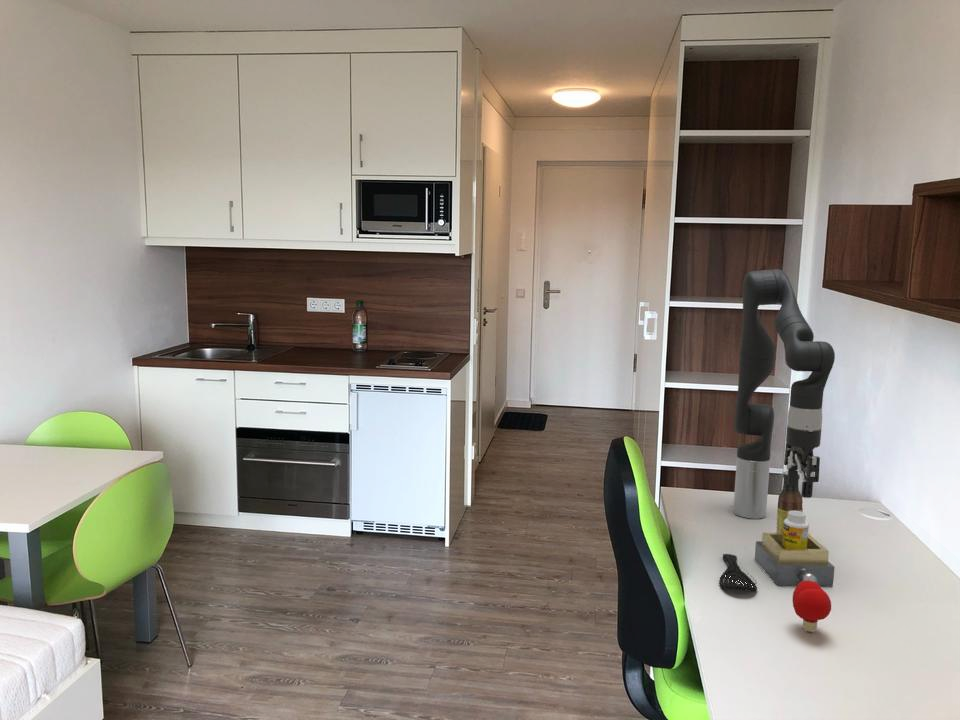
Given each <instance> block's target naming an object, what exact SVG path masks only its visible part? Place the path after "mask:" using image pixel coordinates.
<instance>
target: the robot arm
mask: <svg viewBox="0 0 960 720" xmlns="http://www.w3.org/2000/svg"><path fill="white" fill-rule="evenodd" d="M776 304H777V305H778V304H780V305H781V306H780V308H779V309H778V311H777V314H776V316H775V321H774V326H775V330H776V332H777V334H778V336H779V338H780V339H781V341H782V343H783V349H784V360H785V364H786V366H787V367H788V368H789V369H791V370H792V371H794V372H811V373H810V375H809V376H808V377H807V378H805V379H801V380H796V381H794V382H792V384H791V387H790V396H789V397H790V398H789V399H790V400H789V408H788V412H787V420H786V421H787V422H786V432H785V433H786V434H785V435H786V436H785V437H786V438H785V448H784V449H785V451H784V460H783V465H784V466H786V471H788V477H787V484H788V485H789V486H796V485H797V480H798V473H799V474H801V478H802V482H801V483H802V484H801V492H800V494H801V496H802V498H805V499H811V498H812V497H813V488H814V483H818V482H819V481H820V463H821V461H820V460H821V459H820V456H817V455H816V456H814V449H816V448H818V447H820V446H821V441H822V439H821V438H822V427H823V426H822V425H823V400H824V391H825V387H826V385H827V382H828V379H829V377H830V374H831V371H832V369H833V367H834V364H835V358H836V355H835V354H836V352H835V350H834V347H833V346H832V345H831V344H830V343H829V342H827V341H822V340H820V341H817V340H816V341H814V338H815V336H814V332H813V330H812V328H811V326H810V325H809V322H808V321H807V320H806V318H805V317H804V316H803V315H804V314H803V313H802V311H801V309H800V307H799V304H798V301H797V296H796V294H795V291H794V289H793V286H792V283H791V281H790V279H789V277H788V275H787V274H786V272H785V271H784V270H783V269H779V268H777V269H776V268H775V269H764V270H763V269H762V270H751V271H749V272H747V273H746V274H745V275H744V278H743V283H742V328H741V329H742V331H741V339H740V340H741V341H740V349H739V361H738V364H739V365H738V366H739V367H738V384H737V385H738V386H737V387H738V388H737V393H736V402H735V406H734V414H733V416H734V417H733V427H734V430H735V432H736V433H737V434H740V435H747V436H759V438H757V439H756V440H754V441H752V442H748V443H745V444H741V445H739V446H738V447H737V451H736V463H735V465H736V466H735V468H736V469H735V481H734V495H733V510H732V511H733V514H735V515H736V516H739V517H742V518H746V519H755V520H756V519H763V518H766V516H767V506H768V494H769V493H768V490H769V481H770V480H769V479H770V466H771V465H770V464H771V448H772V438H773V437H772V436H773V429H774V423H775V422H774V421H775V409H774V408H773V406H772V405H770V404H763V403H762V404H761V403H752V402H751V403H749V401H751V397H752V396H753V395H754V393H755V392H756V391H757V389H758V388H759V387H760V386H761V385H762V384H763V383H764V382H765V381H766V380H767V378H769V376H770V375H771V373H772V372H773V370H774V369H775V367H774V366H775V359H776V345H775V343H774V340H773V338H772V337H771V335H770V334H769V332H768V330H766V328H765V326H764V325H763V324H762V322H761V320H760V317H759V313H758V309H759V306H767V305H768V306H769V305H776Z"/></svg>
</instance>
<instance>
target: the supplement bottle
mask: <svg viewBox="0 0 960 720" xmlns="http://www.w3.org/2000/svg"><path fill="white" fill-rule="evenodd" d="M806 517H807V514H806V513H805V512H801V511H789V512H788V518H786V519H785V520H784V526H783V539H782V548H783V549H807V539H808V533H809V527H810V523H809V522H808V521H807V519H806Z"/></svg>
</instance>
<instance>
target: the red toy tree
mask: <svg viewBox="0 0 960 720" xmlns="http://www.w3.org/2000/svg"><path fill="white" fill-rule="evenodd" d="M792 607H793V609H794V612H795V614H796V615H797V616H798V618H800V619H802V628H803V629H804V630H805V631H806V633H809V634H811V633H813V632H816V631H817V629H818V622H819V621H822V620H824V619H826V618H828V616H829V615H830V613H831V611H832V600H831V599H830V596H829V594H828V593H827V592H826V591H824V589H823V587H820V586H819V585H818V584H817V583H815V582H813V581H802V582H800V583H799V584H798V585H797V586H795V587H794V590H793V593H792Z"/></svg>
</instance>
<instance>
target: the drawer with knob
mask: <svg viewBox="0 0 960 720" xmlns="http://www.w3.org/2000/svg"><path fill="white" fill-rule="evenodd" d="M761 534H762V535H761V541H760V540H759V541H757V540H756V541H755V547H754V548H755V549H754V550H755V551H754V562H756V564H757V565H758V564H759V565H760V566H761V567H762V568H763V569H764V570H765V572H766V573H767V574H768V575H769V576H770V577H769V576H768V575H767V574H766V573H765V572H764V573H765V574H766V575H767V576H768V577H769V579H770V578H771V579H772V580H773V581H774V582H773V581H772V580H771V579H770V580H771V581H772V582H773V583H774V584H775V586H776V585H777V586H776V587H796V586H797V585H798V584H799V583H800V582H802V581H813V582H815V583H817V584H818V585H819V586H820V587H821V588H833V587H834V580H835V579H834V577H835V565H834V564H832V563H831V562H830V561H829V555H830V552H829V550H828V549H827V548H826V547H824V546H823V545H822V544H821V543H820V542H819V541H818V540H817V539H815V538H814V537H813V536H812V535H811V534H810V533H809V532H808V539H807V549H783V548H782V539H783V533H777V532H762V533H761ZM759 565H758V566H759ZM760 566H759V567H760ZM761 567H760V568H761ZM762 568H761V569H762ZM763 569H762V570H763ZM764 570H763V571H764Z"/></svg>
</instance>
